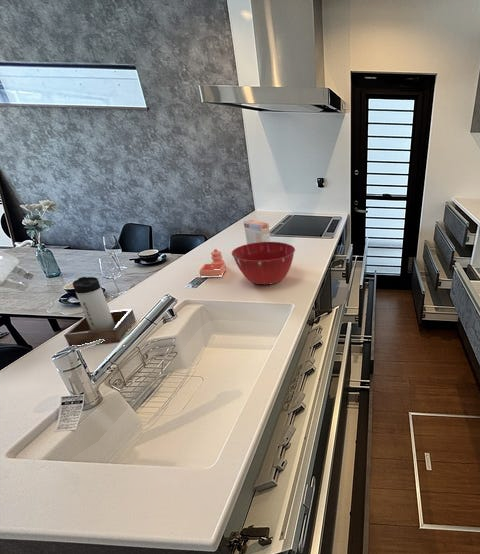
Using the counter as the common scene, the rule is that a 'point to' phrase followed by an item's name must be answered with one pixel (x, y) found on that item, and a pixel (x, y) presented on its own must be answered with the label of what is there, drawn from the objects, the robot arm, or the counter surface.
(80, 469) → the counter surface
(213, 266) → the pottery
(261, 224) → the cracker box
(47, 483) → the counter surface
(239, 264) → the mixing bowl
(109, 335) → the basket
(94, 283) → the travel mug
